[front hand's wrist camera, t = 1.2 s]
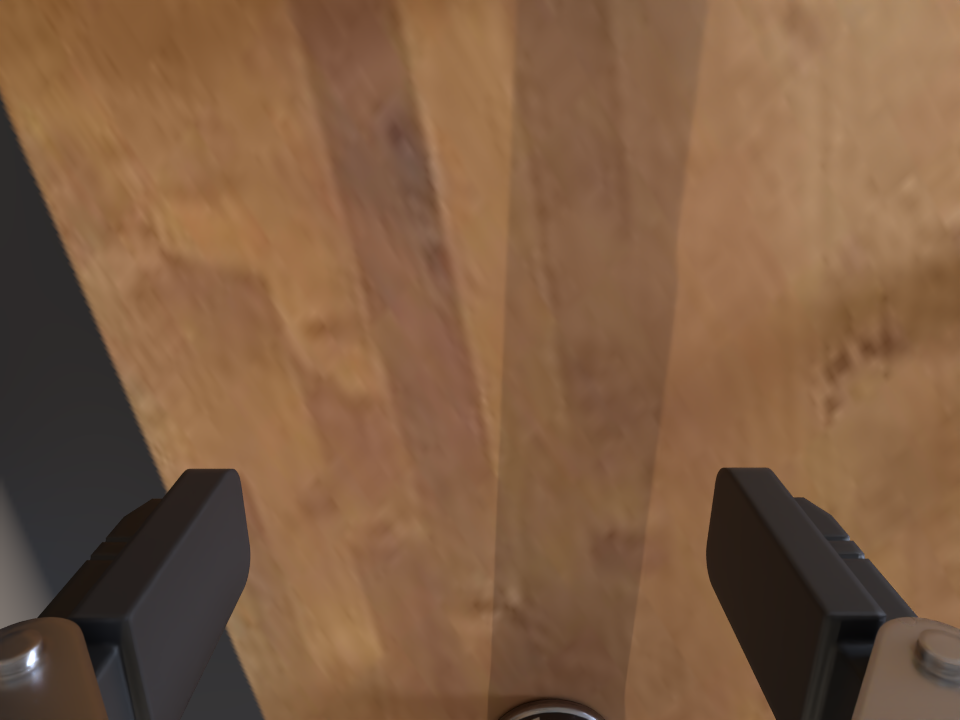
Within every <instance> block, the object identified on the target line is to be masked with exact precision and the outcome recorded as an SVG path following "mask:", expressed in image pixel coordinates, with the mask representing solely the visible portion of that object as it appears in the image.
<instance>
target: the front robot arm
mask: <svg viewBox="0 0 960 720" xmlns="http://www.w3.org/2000/svg"><path fill="white" fill-rule="evenodd" d="M706 560H707V569H708V574H709V578H710V582H711V584H712V587H713V589H714V591H715V593H716V595H717V597H718V599H719V601H720V604H721V606H722V608H723V610H724V612H725V614H726V616H727V618H728V620H729V622H730V624H731V626H732V629H733V631H734V633H735V635H736V637H737V639H738V641H739V643H740V645H741V647H742V649H743V651H744V654H745V656H746V658H747V660H748V662H749V664H750V666H751V668H752V670H753V672H754V674H755V677H756V679H757V681H758V683H759V685H760V687H761V689H762V691H763V693H764V695H765V697H766V699H767V702H768V704H769V706H770V708H771V710H772V712H773V714H774V716H775V718H776V720H960V629H958V628H955V627H953V626H950V625H948V624H945V623H941V622H938V621H934V620H930V619H925V618H918V617H917V615H916V614H915V613H914V612H913V611H912V609H911V608H910V607H909V606H908V605H907V604H906V602H905V601H904V600H903V599H902V598H901V597H900V595H899V594H898V593H897V592H896V591H895V589H894V588H893V587H892V586H891V585H890V584H889V582H888V581H887V580H886V579H885V578H884V577H883V575H882V574H881V573H880V572H879V571H878V569H877V568H876V567H875V566H874V565H873V564H872V562H871V561H870V560H869V559H865V557H864V553H863V552H862V551H861V550H860V548H859V547H858V546H857V545H856V544H855V542H854V541H850V539H849V535H848V534H847V533H846V532H845V531H844V530H843V528H842V527H841V526H840V525H839V524H838V522H837V521H836V520H835V519H834V518H833V517H832V515H830V514H828V513H827V512H825V511H824V510H822V509H821V508H819V507H818V506H816V505H814V504H813V503H811V502H810V501H808V500H807V499H805V498H793V497H792V495H791V494H790V493H789V491H788V490H787V489H786V488H785V486H784V485H783V484H782V483H781V481H780V480H779V479H778V478H777V476H776V475H775V474H774V473H773V471H772V470H771V469H769V468H721V469H720V470H719V472H718V474H717V477H716V482H715V489H714V496H713V504H712V511H711V518H710V525H709V532H708V540H707V548H706ZM249 567H250V544H249V537H248V530H247V523H246V516H245V509H244V502H243V495H242V487H241V481H240V477H239V475H238V473H237V471H236V470H235V469H187V470H186V471H185V472H184V473H183V474H182V475H181V476H180V477H179V479H178V480H177V481H176V482H175V484H174V485H173V486H172V487H171V489H170V490H169V491H168V492H167V494H166V495H165V496H164V497H163V499H151V500H150V501H148V502H147V503H145V504H143V505H142V506H140V507H139V508H137V509H136V510H134V511H132V512H131V513H129V514H128V515H126V516H125V517H124V518H123V519H122V520H121V521H120V522H119V523H118V525H117V526H116V527H115V528H114V529H113V530H112V532H111V533H110V534H109V535H108V536H107V537H106V542H102V543H101V544H100V545H99V547H98V548H97V549H96V550H95V551H94V552H93V554H92V555H91V559H90V560H87V561H86V562H85V563H84V564H83V565H82V567H81V568H80V569H79V570H78V571H77V572H76V573H75V575H74V576H73V577H72V578H71V579H70V580H69V582H68V583H67V584H66V585H65V586H64V587H63V589H62V590H61V591H60V592H59V593H58V594H57V596H56V597H55V598H54V599H53V600H52V602H51V603H50V604H49V605H48V606H47V607H46V609H45V610H44V611H43V612H42V613H41V614H40V615H39V617H38V618H35V619H30V620H26V621H22V622H19V623H15V624H12V625H10V626H7V627H5V628H2V629H0V720H180V719H181V717H182V715H183V713H184V711H185V709H186V707H187V705H188V702H189V700H190V698H191V696H192V694H193V692H194V690H195V688H196V686H197V684H198V682H199V680H200V678H201V676H202V674H203V672H204V670H205V667H206V665H207V663H208V661H209V659H210V657H211V655H212V653H213V651H214V649H215V647H216V645H217V643H218V641H219V639H220V637H221V635H222V632H223V630H224V628H225V626H226V624H227V622H228V620H229V618H230V616H231V614H232V612H233V610H234V608H235V606H236V604H237V602H238V600H239V597H240V595H241V593H242V591H243V589H244V587H245V585H246V581H247V578H248V573H249ZM499 720H605V719H604V718H603V717H602V716H601V715H599V714H598V713H597V712H595V711H594V710H592V709H591V708H589V707H587V706H584V705H582V704H579V703H576V702H572V701H567V700H558V699H548V700H539V701H534V702H530V703H526V704H523V705H521V706H519V707H516V708H514V709H512V710H511V711H509V712H508V713H506V714H505V715H504V716H502V717H501V718H500V719H499Z"/></svg>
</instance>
